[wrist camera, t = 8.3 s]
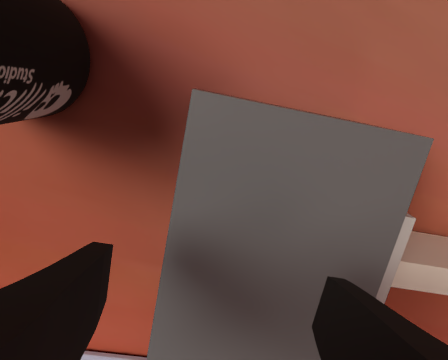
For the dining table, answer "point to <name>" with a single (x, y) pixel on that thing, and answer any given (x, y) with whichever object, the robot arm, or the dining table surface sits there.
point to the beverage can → (40, 59)
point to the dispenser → (277, 226)
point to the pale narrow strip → (424, 264)
